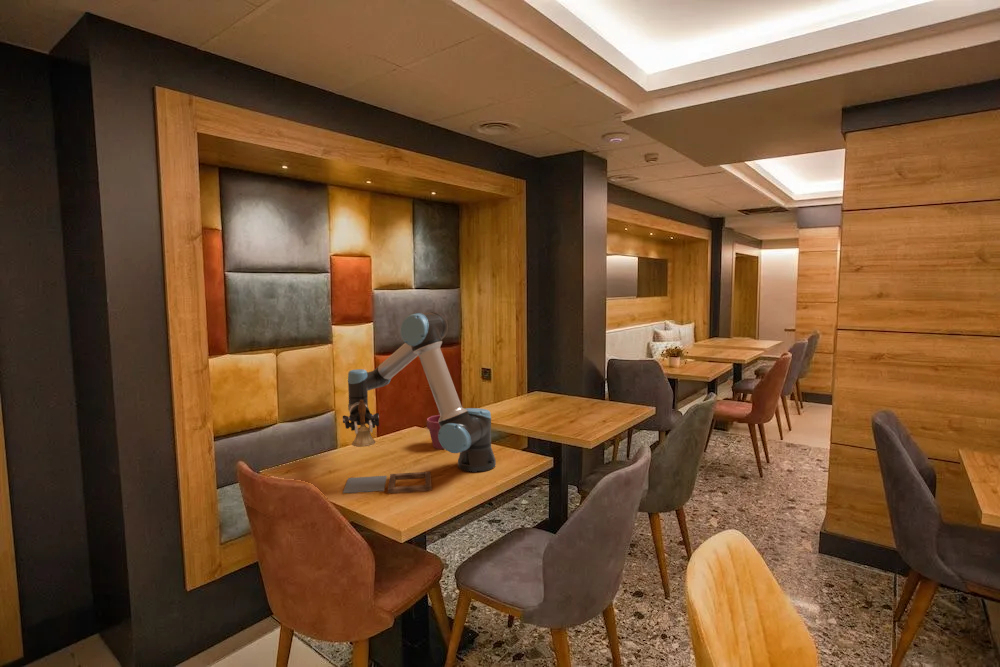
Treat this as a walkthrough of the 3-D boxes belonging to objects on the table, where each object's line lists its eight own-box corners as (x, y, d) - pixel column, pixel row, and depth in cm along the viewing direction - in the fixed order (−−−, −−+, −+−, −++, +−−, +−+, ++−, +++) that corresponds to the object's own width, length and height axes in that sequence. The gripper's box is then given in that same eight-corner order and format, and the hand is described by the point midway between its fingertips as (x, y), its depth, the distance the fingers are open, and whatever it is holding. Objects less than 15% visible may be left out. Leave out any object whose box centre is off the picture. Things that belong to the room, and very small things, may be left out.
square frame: (430, 475, 194) (430, 471, 194) (431, 490, 180) (431, 486, 180) (390, 477, 192) (390, 473, 192) (387, 493, 177) (387, 489, 177)
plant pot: (459, 440, 238) (458, 413, 236) (459, 450, 224) (458, 421, 223) (428, 441, 237) (427, 414, 235) (426, 451, 223) (425, 423, 221)
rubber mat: (386, 476, 193) (386, 475, 193) (383, 491, 180) (383, 490, 180) (348, 479, 191) (348, 478, 191) (342, 493, 178) (342, 492, 178)
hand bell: (378, 444, 182) (376, 400, 181) (354, 448, 178) (352, 403, 177) (372, 438, 189) (370, 396, 188) (349, 442, 185) (347, 399, 184)
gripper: (382, 421, 204) (389, 437, 182) (336, 424, 198) (338, 442, 176) (382, 402, 203) (389, 416, 181) (336, 405, 197) (337, 420, 175)
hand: (364, 429), depth 179 cm, fingers closed on hand bell, 4 cm apart
